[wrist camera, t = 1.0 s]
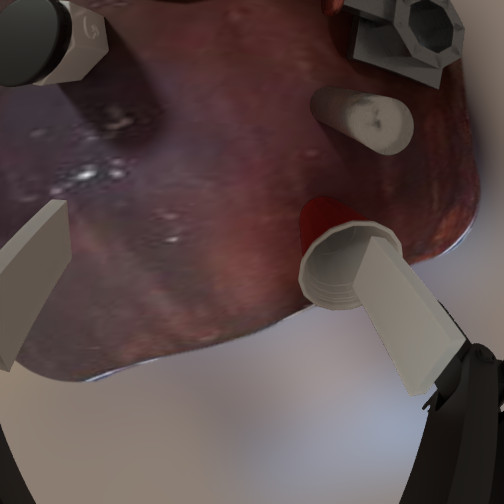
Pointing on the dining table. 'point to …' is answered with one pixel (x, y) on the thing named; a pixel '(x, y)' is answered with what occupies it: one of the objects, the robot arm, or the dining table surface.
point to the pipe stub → (365, 118)
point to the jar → (49, 42)
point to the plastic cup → (335, 251)
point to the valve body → (403, 36)
